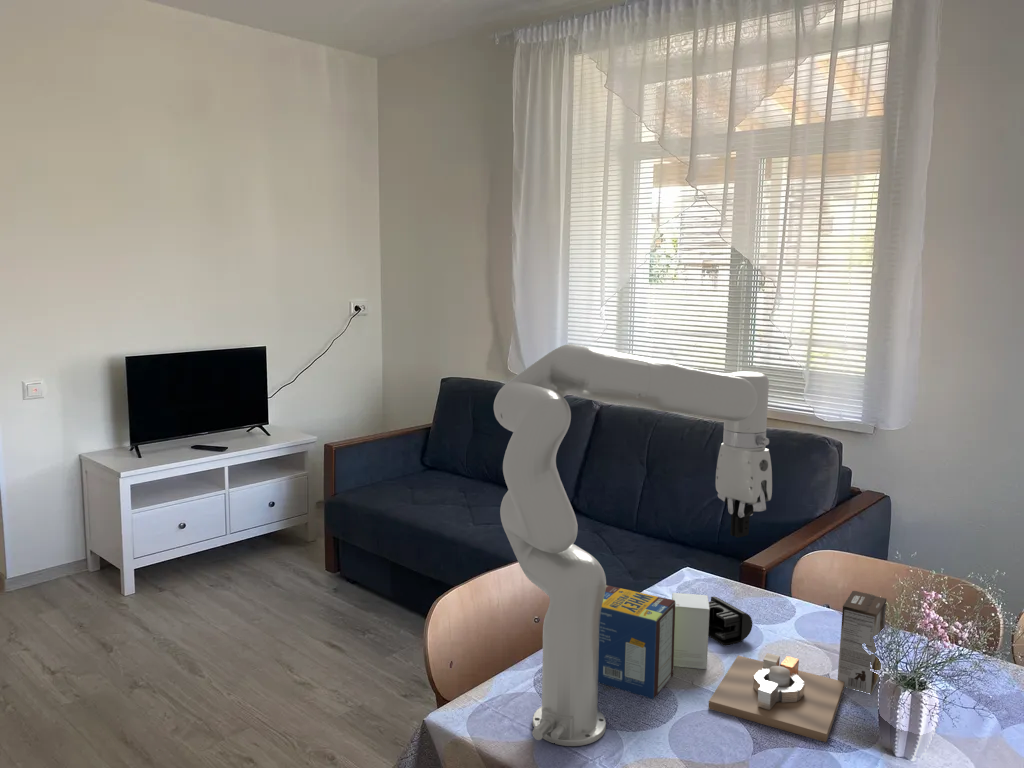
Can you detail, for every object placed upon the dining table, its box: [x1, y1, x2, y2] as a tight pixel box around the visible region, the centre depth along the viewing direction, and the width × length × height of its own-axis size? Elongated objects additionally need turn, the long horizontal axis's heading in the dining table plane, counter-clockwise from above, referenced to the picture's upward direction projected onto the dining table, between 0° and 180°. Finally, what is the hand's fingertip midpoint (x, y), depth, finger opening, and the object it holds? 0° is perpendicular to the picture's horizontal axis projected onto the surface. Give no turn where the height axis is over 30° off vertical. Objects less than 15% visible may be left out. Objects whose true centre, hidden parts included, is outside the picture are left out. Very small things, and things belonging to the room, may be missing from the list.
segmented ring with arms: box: [753, 655, 805, 710], centre depth 146 cm, size 16×8×3 cm, turn 143°
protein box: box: [598, 584, 675, 700], centre depth 153 cm, size 10×15×16 cm
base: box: [708, 652, 845, 743], centre depth 146 cm, size 20×20×6 cm
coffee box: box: [837, 590, 887, 695], centre depth 152 cm, size 9×6×16 cm
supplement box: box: [671, 592, 710, 670], centre depth 160 cm, size 7×7×13 cm
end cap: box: [708, 596, 753, 647], centre depth 172 cm, size 10×7×7 cm
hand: (739, 535), depth 149 cm, fingers closed
